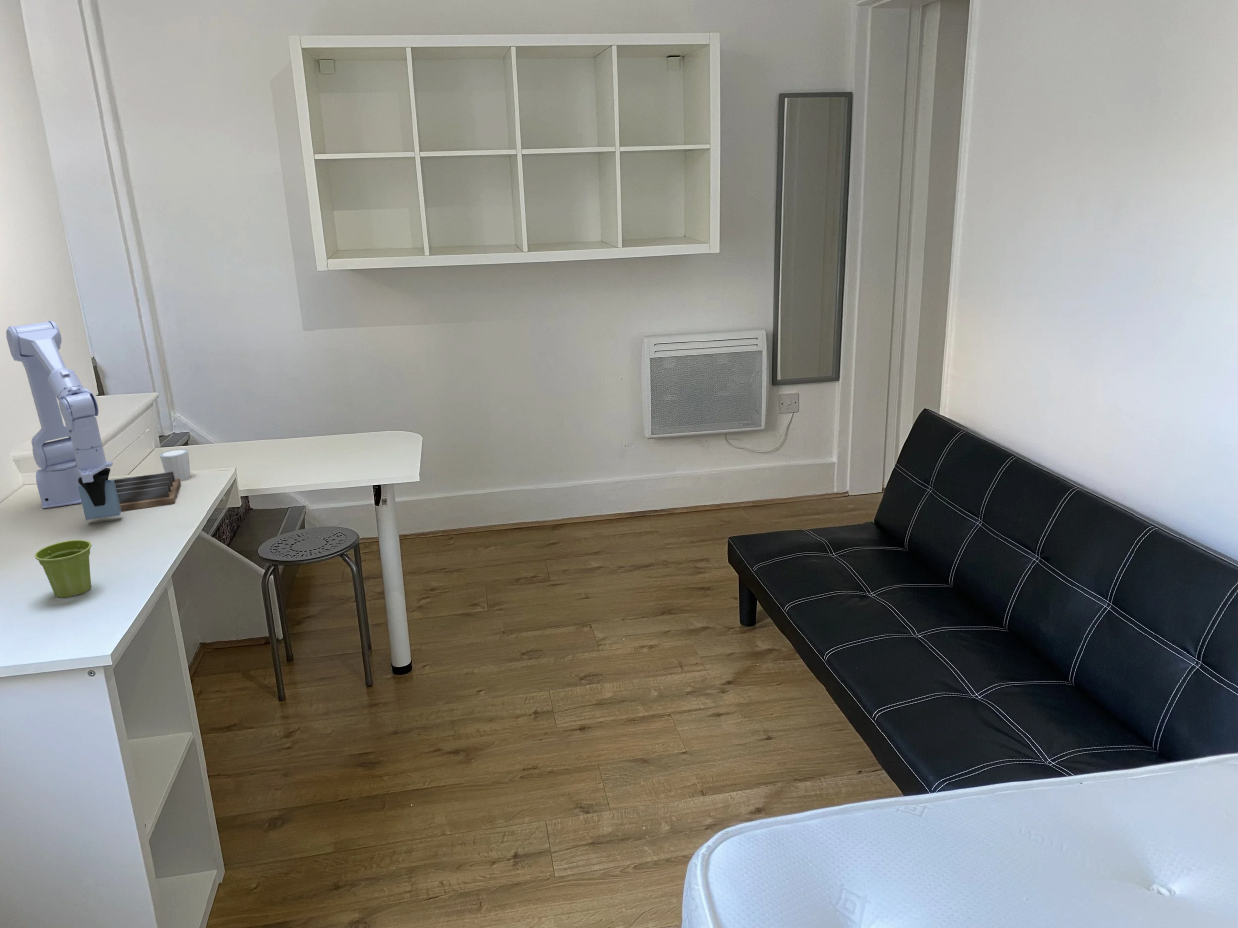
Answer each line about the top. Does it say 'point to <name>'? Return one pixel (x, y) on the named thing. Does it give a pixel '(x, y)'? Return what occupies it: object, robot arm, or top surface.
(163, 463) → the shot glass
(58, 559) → the plant pot
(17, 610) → the top surface
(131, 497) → the rack
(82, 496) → the block
